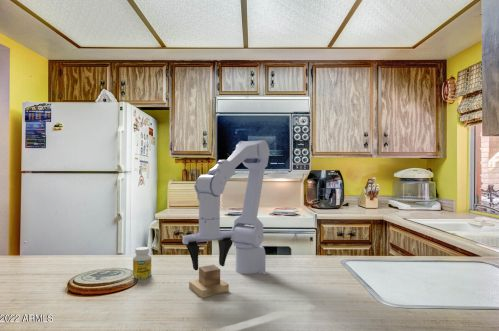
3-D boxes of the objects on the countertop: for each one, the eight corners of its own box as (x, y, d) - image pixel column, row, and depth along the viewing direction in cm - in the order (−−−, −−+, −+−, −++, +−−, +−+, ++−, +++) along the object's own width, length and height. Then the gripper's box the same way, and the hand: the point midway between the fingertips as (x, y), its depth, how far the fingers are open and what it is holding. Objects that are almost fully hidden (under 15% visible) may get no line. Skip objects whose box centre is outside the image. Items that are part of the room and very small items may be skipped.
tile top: (214, 282, 91) (214, 275, 91) (228, 291, 84) (228, 284, 84) (189, 287, 86) (189, 281, 86) (202, 297, 79) (202, 290, 80)
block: (213, 278, 88) (213, 264, 88) (220, 283, 84) (220, 269, 84) (198, 281, 86) (198, 267, 86) (204, 286, 82) (204, 271, 82)
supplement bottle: (148, 275, 99) (148, 245, 99) (153, 280, 94) (153, 248, 95) (130, 278, 96) (131, 247, 96) (135, 283, 92) (135, 251, 92)
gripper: (227, 214, 92) (227, 259, 92) (179, 217, 85) (179, 266, 85) (237, 217, 86) (237, 266, 86) (186, 221, 79) (186, 274, 79)
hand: (208, 267), depth 85 cm, fingers open, 7 cm apart
